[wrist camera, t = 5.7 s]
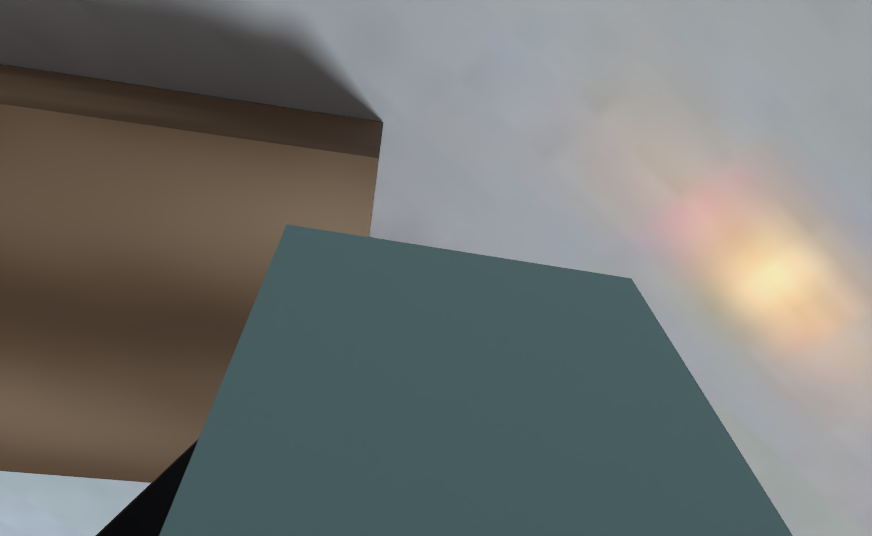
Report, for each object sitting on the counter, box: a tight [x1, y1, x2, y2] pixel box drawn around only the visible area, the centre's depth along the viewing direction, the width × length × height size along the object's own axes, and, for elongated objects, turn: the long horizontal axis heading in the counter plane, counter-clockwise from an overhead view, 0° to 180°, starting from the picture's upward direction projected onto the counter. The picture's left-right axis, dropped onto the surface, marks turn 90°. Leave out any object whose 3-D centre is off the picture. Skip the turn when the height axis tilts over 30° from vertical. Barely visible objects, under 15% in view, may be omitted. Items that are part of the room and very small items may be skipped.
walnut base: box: [0, 64, 383, 483], centre depth 18 cm, size 12×12×3 cm
